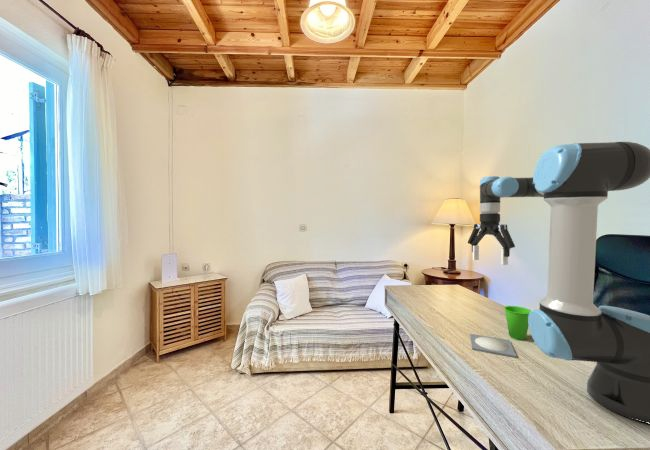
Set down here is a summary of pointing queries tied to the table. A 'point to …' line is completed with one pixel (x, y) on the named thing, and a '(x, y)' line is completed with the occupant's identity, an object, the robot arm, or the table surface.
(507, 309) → the cup
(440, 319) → the table surface
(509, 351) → the coaster
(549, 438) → the table surface
